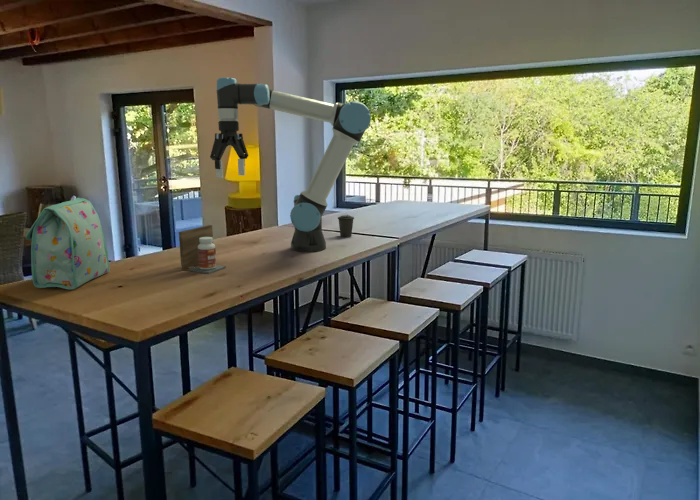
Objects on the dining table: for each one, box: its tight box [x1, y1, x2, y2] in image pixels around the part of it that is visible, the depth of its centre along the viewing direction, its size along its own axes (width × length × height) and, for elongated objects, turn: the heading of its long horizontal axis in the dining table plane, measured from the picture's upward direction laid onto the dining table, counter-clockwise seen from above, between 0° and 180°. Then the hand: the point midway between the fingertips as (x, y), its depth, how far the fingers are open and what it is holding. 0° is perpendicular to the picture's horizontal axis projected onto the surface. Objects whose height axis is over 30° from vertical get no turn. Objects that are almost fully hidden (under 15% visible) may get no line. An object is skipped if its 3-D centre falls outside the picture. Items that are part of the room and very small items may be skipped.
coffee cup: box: [337, 214, 355, 238], centre depth 244 cm, size 8×8×10 cm
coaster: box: [188, 264, 226, 275], centre depth 184 cm, size 9×9×1 cm
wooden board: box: [178, 224, 214, 271], centre depth 188 cm, size 4×16×14 cm, turn 155°
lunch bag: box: [25, 197, 111, 290], centre depth 166 cm, size 23×16×27 cm
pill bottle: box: [198, 237, 217, 270], centre depth 182 cm, size 6×6×11 cm
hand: (231, 176), depth 198 cm, fingers open, 13 cm apart
